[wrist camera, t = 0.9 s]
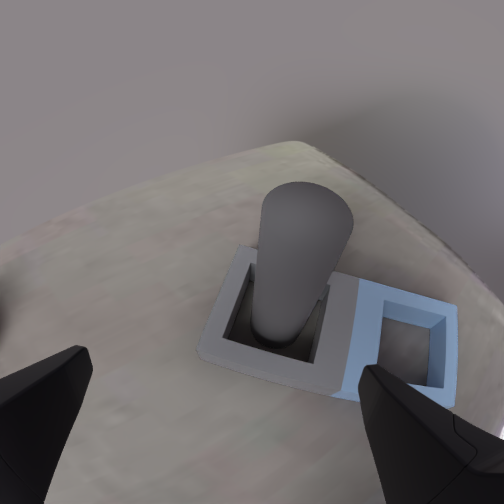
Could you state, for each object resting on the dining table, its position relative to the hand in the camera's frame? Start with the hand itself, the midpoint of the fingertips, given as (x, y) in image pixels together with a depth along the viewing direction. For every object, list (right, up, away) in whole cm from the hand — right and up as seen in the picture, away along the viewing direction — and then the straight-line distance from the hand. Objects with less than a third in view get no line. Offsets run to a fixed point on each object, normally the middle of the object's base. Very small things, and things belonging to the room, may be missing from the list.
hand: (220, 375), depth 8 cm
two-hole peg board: (+9, -4, +16) cm, 19 cm away
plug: (+3, -3, +17) cm, 17 cm away
